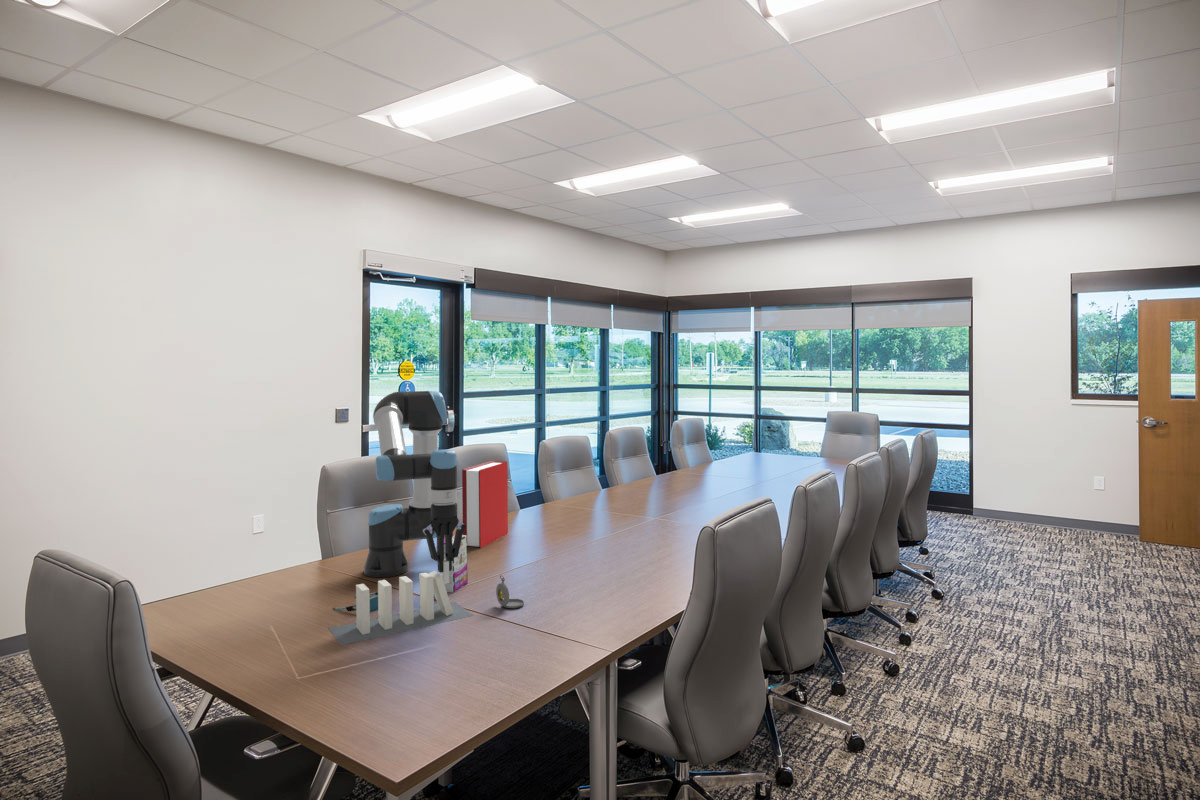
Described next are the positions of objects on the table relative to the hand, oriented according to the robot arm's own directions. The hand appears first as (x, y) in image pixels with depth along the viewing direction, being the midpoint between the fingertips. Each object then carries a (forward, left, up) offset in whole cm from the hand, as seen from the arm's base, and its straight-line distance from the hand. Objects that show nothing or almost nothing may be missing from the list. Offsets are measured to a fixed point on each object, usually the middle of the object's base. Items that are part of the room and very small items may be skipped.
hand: (444, 582), depth 195 cm
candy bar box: (-21, +11, -10) cm, 26 cm away
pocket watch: (+5, +18, -10) cm, 21 cm away
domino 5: (0, 0, -9) cm, 9 cm away
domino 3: (0, -12, -9) cm, 15 cm away
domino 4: (0, -6, -9) cm, 11 cm away
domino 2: (0, -18, -9) cm, 20 cm away
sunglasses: (-21, -18, -10) cm, 29 cm away
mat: (0, -13, -9) cm, 16 cm away
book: (-73, +47, -10) cm, 88 cm away
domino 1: (0, -24, -9) cm, 25 cm away
